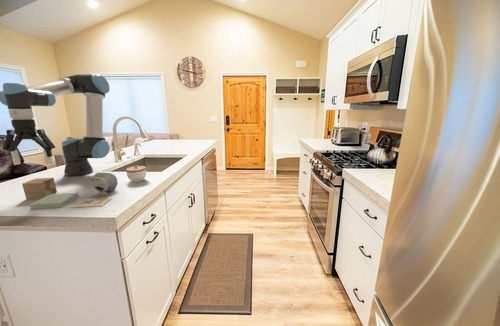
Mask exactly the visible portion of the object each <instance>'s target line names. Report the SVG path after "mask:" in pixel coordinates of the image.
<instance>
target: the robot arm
mask: <svg viewBox="0 0 500 326" xmlns="http://www.w3.org/2000/svg"><path fill="white" fill-rule="evenodd" d="M109 92H110V85H109V81H108V80H107V79H106V78H105V76H104V75H102V74H97V73H93V74H91V73H88V74H87V73H86V74H79V73H78V74H74V75H73V74H72V75H69V76H64V77H62V78H58V79H57V80H56V81H52V82H51V81H50V82H46V83H40V84H36V85H32V86H27V85H26V84H25V83H21V82H19V83H18V82H4V83H3V84H2V90H1V91H0V103H1V104H2V105H4V106H6V107H7V110H8V114H9V117H10V119H11V120H10V122H11V126H12V128H13V129H6V132H5V133H6V135H5V140H4V142H3V147H2V150H3V151H8V153H9V156H10V159H12V163H13V165H14V166H16V165H21V159H20V155H19V150H17V148H18V147H19V145H20V144H21V142H22V141H23V140H31V141H34V142H35V143H36V144H38V146H39V147H41V148H42V149H43V155H44V160H45V164H46V165H50V164H52V163H53V161H52V157H53V153H52V152H53V151H52V150H53V149H55V148H56V146H55V144H54V143H53V142H52V140H51V139H50V138H49V136H48V135H47V134H46V132H45V129H43V128H40V129H37V128H36V120H35V119H34V118H35V117H34V112H33V107H52V106H54V105H55V104H56V102H57V101H56V99H57V98H56V97H58V96H61V95H72V94H82V95H83V96H84V97H85V103H86V104H85V105H86V106H85V109H86V110H85V111H86V112H85V113H86V114H85V120H86V122H85V123H86V125H85V128H86V129H85V130H86V132H85V133H86V134H85V135H84V136H83V137H79V138H71V139H66V140H63V141H62V142H61V148H62V154H63V157H64V162H65V166H64V171H63V172H64V176H66V177H79V176H84V175H87V174H92V173H93V172H94V170H93V167H92V165H91V164H90V163H91V162H89V160H88V159H103V158H105V157H107V156H108V155H109V153H110V149H111V147H110V144H109V142H108V141H107V140H106V137H105V136H103V132H104V131H103V130H104V129H103V100H104V99H105V98H106V94H108V93H109Z"/></svg>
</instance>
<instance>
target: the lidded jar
mask: <svg viewBox="0 0 500 326" xmlns="http://www.w3.org/2000/svg"><path fill="white" fill-rule="evenodd" d="M125 171H126V176H127V178H128V180H129V181H131V182H133V183H139V182H143V181H144V179H145V178H146V177H147V167H146V166H144V165H134V166H130V167H127V168H126V169H125Z"/></svg>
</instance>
